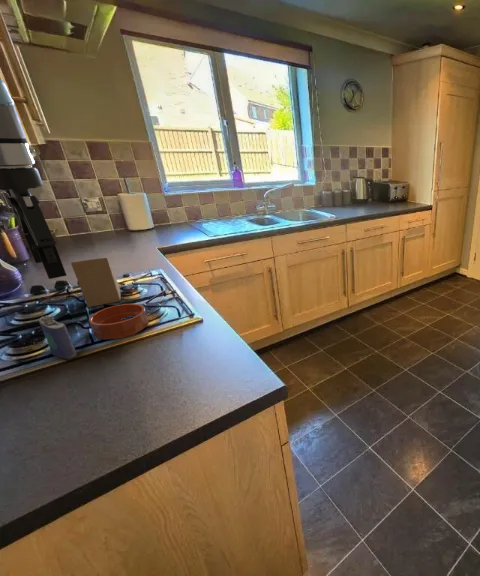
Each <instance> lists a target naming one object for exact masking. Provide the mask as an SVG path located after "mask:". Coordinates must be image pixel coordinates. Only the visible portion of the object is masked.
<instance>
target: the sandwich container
mask: <svg viewBox="0 0 480 576" xmlns="http://www.w3.org/2000/svg"><path fill="white" fill-rule="evenodd" d="M70 264H71V267H72V270H73V272H74V276H75V277H76V280H77V282H78V285H79V287H80V291H81V293H82V296H83V297H84V300H85V302H86V305H87V307H88V308H91V307H97V306H101V305H107V304H112V303H116V302H121V288H120V284H119V282H118V279H117V278H116V276H115V273H114V272H113V270H112V269H113V268H112V267H111V264H110V262H109V259H108V257H100V258H92V259H91V258H90V259H85V260H84V259H83V260H78V261H71V263H70Z"/></svg>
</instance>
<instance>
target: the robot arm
mask: <svg viewBox="0 0 480 576" xmlns="http://www.w3.org/2000/svg"><path fill="white" fill-rule="evenodd" d="M35 153H36V150H35V149H34V148H32V147H29V143H28V140H27V136H26V134H25V131H24V128H23V125H22V122H21V120H20V117H19V114H18V111H17V108H16V106H15V101H14V99H13V98H12V97H11V94H10V92H9V90H8V87H7V84H6V83H5V82H4V80H2V79H1V78H0V190H1V191H5V192H6V194H7V196H8V197H7V196H6V200H7V202H8V204H9V206H11V210H12V211H13V214H15V217H16V219H17V222H18V228H19V229H20V230H21V232H22V233H23V236H24V238H25V242H26V243H27V246H28V248H29V250H30V253H31V255H32V258H33V260H34V262H35V264H40V263H42V265H43V268H44V270H45V273H46V276H47V279H49V280H53V279H56V278H60V277H61V278H62V277H66V276H67V272H66V270H65V268H64V264H63V262H62V260H61V257H60V254H59V252H58V249H57V241H56V240H55V239H54V236H53V234H52V232H51V229H50V227H49V225H48V223H47V221H46V218H45V216H44V212H43V211H42V209H41V205H40V200H39V199H38V197H37V196H35V195H32V194H31V192H30V189H38V188H41V187H43V186H44V183H43V180H42V177H41V175H40V172H39V169H38V168H36V167H33V166H34V165H35V164H36V161H35V159H34V156H33V155H32V154H35Z"/></svg>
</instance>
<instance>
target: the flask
mask: <svg viewBox="0 0 480 576" xmlns="http://www.w3.org/2000/svg"><path fill="white" fill-rule="evenodd" d="M38 323H39V325H40V328H41V330H42V332H43V335H44V337H45V340H46V341H47V343H48V347H49V351H50V353H51V354H52V355H53V356H54V357H56V358H58V359H61V360H64V361H71V360H73V359H75V358H77V357H78V352H77V351H76V348H75V346H74V344H73V341H72V339H71V337H70V334H69V331H68V328H67V325H66V324H64V323H62V322H59V321H56V320H55V319H54V315H53V314H50V315H43V316H41V317H40V318H39V319H38Z"/></svg>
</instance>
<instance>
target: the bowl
mask: <svg viewBox="0 0 480 576" xmlns="http://www.w3.org/2000/svg"><path fill="white" fill-rule="evenodd" d="M127 316H135V317H133V318H129V319H122V318H124V317H127ZM121 319H122V320H121ZM149 321H150V320H149V317H148V314H147V310H146V306H144V305H142V304H141V303H140V304H139V303H122V304H116V305H112V306H109V307H105V308H102V309H100V310H98V311H96V312H94V313H93V314H91V315H90V316H89V319H88V323H89V326H90V328H91V332H92V334H93V336H94V337H95V338H97V339H99V340H104V341H105V340H117V339H123V338H126V337H130V336H132V335H135V334H137V333H139V332H141V331H142V330H144V329H145V328H146V327H147V326H148V325H149V323H150V322H149Z"/></svg>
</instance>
